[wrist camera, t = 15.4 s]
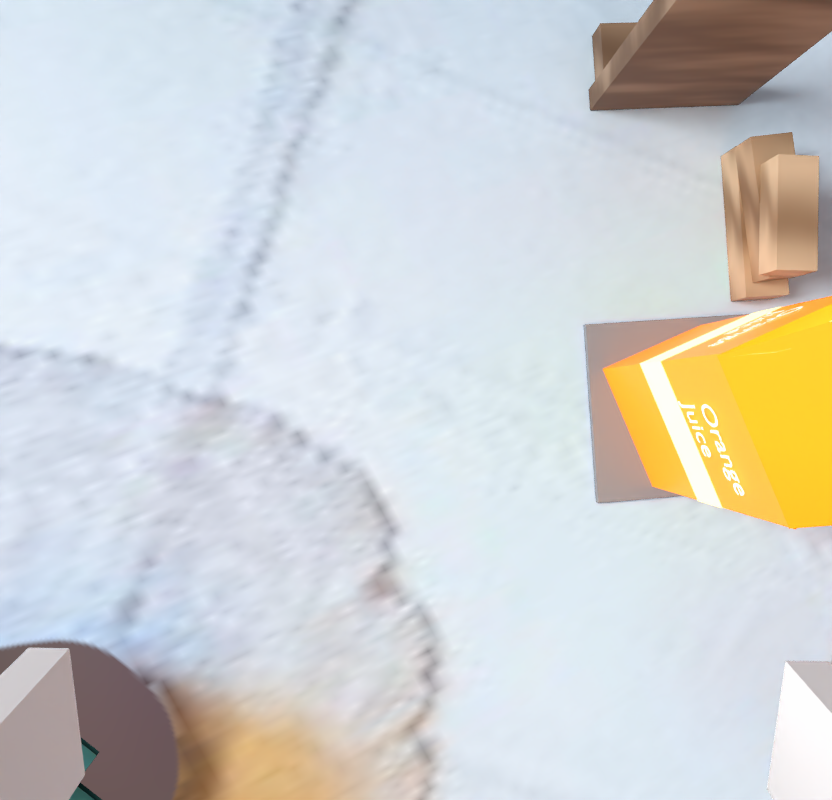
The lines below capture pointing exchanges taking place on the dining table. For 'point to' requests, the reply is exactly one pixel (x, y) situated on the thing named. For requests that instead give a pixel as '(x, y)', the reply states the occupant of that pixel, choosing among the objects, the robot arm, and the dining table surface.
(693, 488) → the orange juice
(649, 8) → the walnut rack
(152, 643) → the dining table surface
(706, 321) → the grey mat
